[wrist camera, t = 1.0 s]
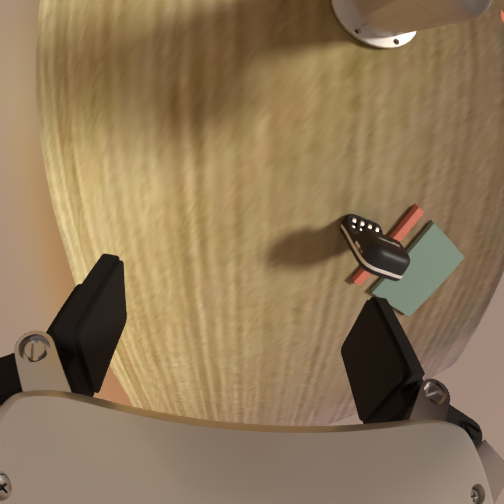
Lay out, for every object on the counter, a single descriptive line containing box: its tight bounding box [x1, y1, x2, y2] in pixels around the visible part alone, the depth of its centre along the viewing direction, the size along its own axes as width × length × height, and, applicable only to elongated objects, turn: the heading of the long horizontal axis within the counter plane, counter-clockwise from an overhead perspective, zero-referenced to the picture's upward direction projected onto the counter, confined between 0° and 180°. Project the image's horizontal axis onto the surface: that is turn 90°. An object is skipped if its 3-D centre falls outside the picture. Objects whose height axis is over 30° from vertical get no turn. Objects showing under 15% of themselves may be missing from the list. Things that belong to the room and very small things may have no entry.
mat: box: [370, 221, 464, 317], centre depth 47 cm, size 16×12×1 cm
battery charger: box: [340, 214, 410, 281], centre depth 38 cm, size 7×4×11 cm, turn 71°
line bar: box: [352, 204, 424, 286], centre depth 44 cm, size 16×2×1 cm, turn 147°
